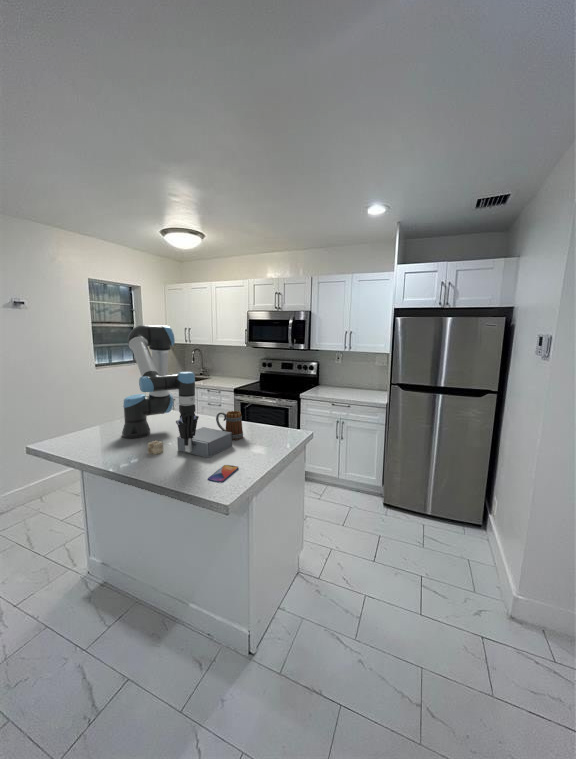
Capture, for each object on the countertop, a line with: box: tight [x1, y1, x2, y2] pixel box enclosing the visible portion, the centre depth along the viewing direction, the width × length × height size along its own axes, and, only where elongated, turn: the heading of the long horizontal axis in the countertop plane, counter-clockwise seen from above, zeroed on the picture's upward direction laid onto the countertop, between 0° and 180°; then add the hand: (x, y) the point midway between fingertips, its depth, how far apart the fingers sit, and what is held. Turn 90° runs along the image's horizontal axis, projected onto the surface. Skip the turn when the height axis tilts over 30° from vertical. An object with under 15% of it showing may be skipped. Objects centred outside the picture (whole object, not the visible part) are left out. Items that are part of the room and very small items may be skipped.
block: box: [147, 440, 164, 456], centre depth 160 cm, size 5×5×5 cm
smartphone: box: [207, 464, 239, 483], centre depth 137 cm, size 7×15×1 cm, turn 161°
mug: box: [215, 410, 244, 441], centre depth 184 cm, size 16×11×15 cm
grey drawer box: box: [178, 426, 233, 458], centre depth 167 cm, size 18×20×8 cm
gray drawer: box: [176, 436, 210, 458], centre depth 165 cm, size 17×20×7 cm
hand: (188, 451), depth 156 cm, fingers closed
